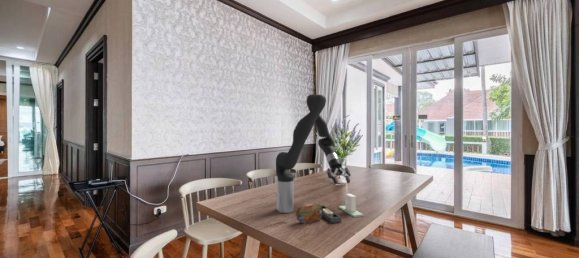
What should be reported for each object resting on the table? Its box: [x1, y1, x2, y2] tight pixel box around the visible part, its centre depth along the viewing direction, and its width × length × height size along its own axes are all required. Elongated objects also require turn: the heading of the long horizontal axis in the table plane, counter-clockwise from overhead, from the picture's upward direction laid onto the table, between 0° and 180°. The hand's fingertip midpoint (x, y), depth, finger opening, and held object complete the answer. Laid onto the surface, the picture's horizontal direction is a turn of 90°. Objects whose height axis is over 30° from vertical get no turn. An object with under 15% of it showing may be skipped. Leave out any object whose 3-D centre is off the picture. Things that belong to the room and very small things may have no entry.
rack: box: [321, 204, 342, 224], centre depth 132 cm, size 6×20×2 cm, turn 18°
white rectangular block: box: [344, 193, 357, 212], centre depth 139 cm, size 3×6×8 cm, turn 17°
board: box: [338, 205, 364, 218], centre depth 139 cm, size 6×16×1 cm, turn 18°
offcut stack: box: [323, 207, 333, 217], centre depth 133 cm, size 3×10×3 cm, turn 15°
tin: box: [295, 203, 323, 225], centre depth 125 cm, size 15×3×8 cm, turn 118°
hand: (342, 183), depth 147 cm, fingers open, 8 cm apart
